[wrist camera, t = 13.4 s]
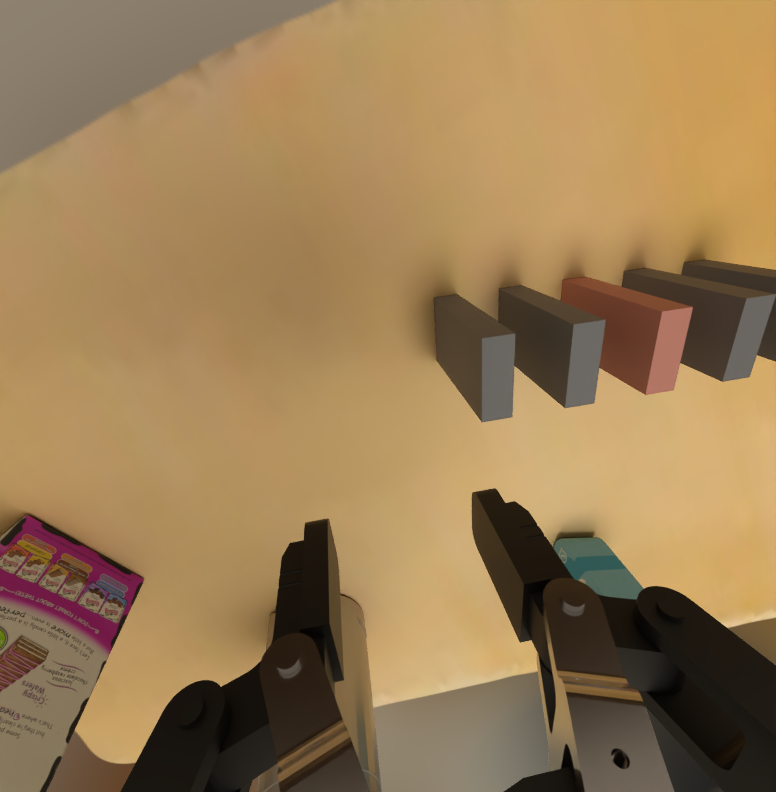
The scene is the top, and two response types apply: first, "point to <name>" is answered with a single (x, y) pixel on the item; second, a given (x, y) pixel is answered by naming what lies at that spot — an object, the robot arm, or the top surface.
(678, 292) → the domino
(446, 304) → the domino
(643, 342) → the domino
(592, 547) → the data package
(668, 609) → the robot arm
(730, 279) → the domino
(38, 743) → the candy bar box
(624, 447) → the top surface
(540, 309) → the domino
